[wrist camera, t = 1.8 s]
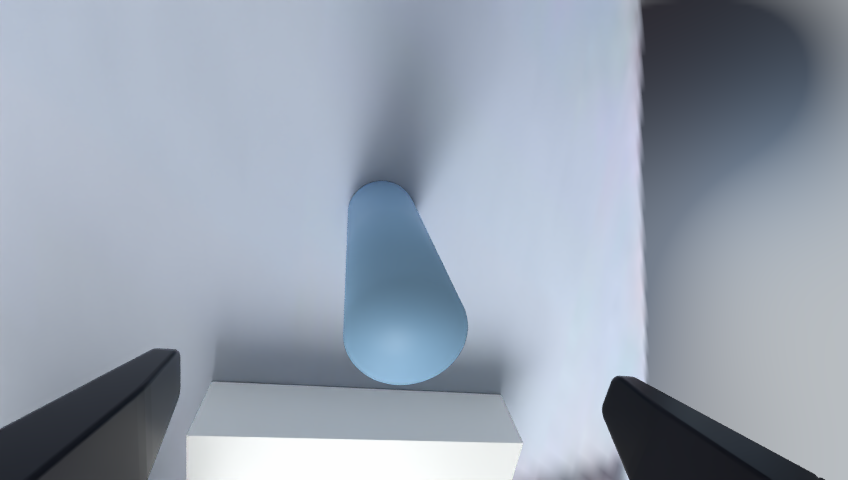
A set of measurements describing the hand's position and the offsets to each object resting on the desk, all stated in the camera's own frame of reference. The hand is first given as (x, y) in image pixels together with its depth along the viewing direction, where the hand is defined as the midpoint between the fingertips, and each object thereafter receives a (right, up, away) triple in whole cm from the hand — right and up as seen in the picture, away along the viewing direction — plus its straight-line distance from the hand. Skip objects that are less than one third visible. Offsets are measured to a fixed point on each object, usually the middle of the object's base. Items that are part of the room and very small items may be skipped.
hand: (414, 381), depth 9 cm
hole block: (-4, -10, +16) cm, 19 cm away
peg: (-2, +4, +11) cm, 12 cm away
